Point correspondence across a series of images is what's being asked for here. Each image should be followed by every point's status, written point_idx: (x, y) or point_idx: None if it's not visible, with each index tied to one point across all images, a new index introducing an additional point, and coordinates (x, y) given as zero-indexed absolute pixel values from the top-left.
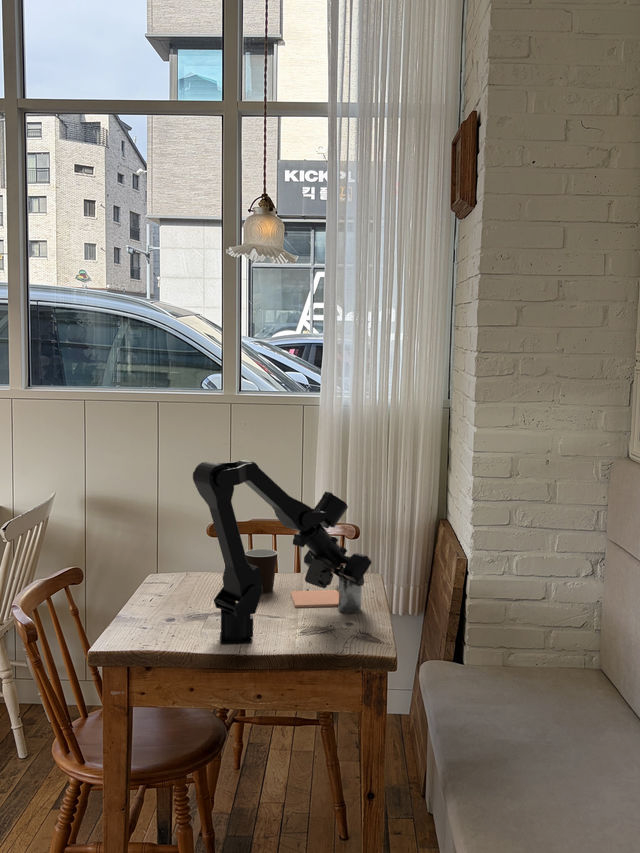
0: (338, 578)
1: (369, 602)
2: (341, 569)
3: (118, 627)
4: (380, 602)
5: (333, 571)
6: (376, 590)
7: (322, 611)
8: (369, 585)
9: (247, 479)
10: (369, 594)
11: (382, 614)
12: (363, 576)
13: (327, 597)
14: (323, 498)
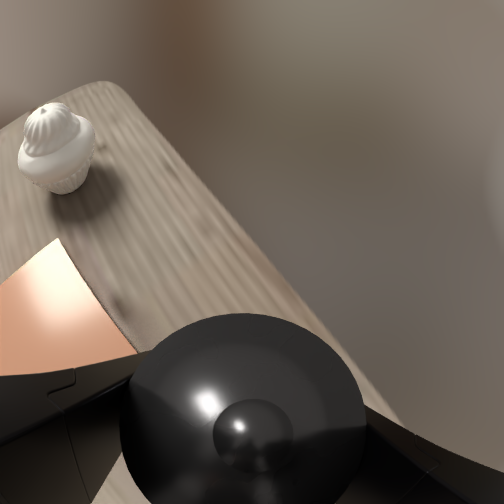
0: (41, 183)
1: (230, 280)
2: (149, 454)
3: None
4: (264, 256)
5: (97, 488)
6: (174, 157)
7: (142, 500)
8: (133, 134)
9: None
10: (175, 199)
11: (362, 377)
12: (379, 415)
13: (63, 345)
14: None
